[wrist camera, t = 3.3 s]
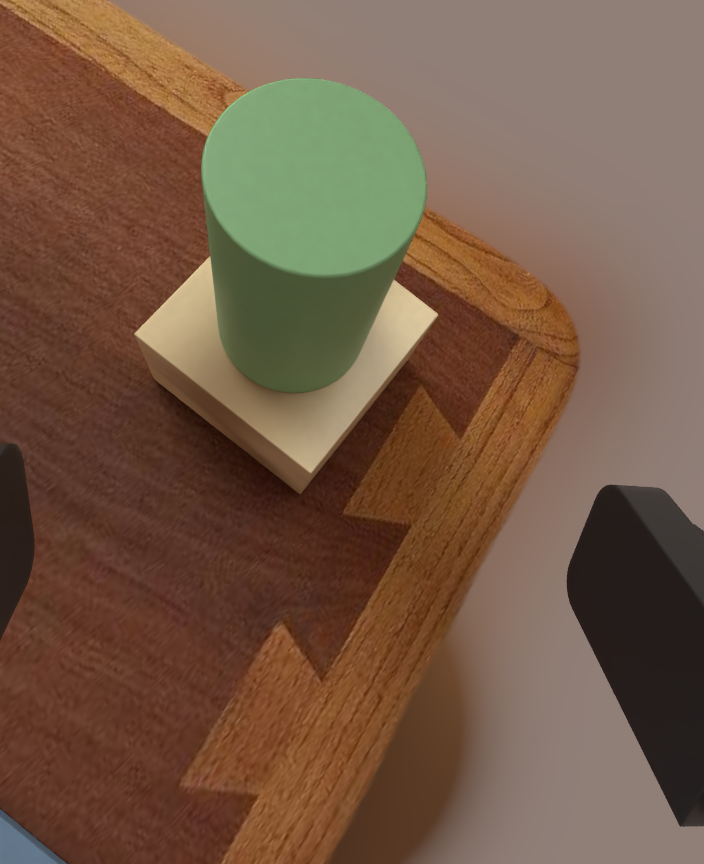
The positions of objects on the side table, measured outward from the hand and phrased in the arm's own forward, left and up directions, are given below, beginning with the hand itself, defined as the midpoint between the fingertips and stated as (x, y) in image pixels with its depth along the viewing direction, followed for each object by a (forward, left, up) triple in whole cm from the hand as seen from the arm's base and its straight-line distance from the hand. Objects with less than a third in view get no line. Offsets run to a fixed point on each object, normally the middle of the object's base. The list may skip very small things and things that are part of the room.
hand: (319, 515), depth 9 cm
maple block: (+5, -7, -18) cm, 20 cm away
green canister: (+5, -7, -13) cm, 16 cm away
